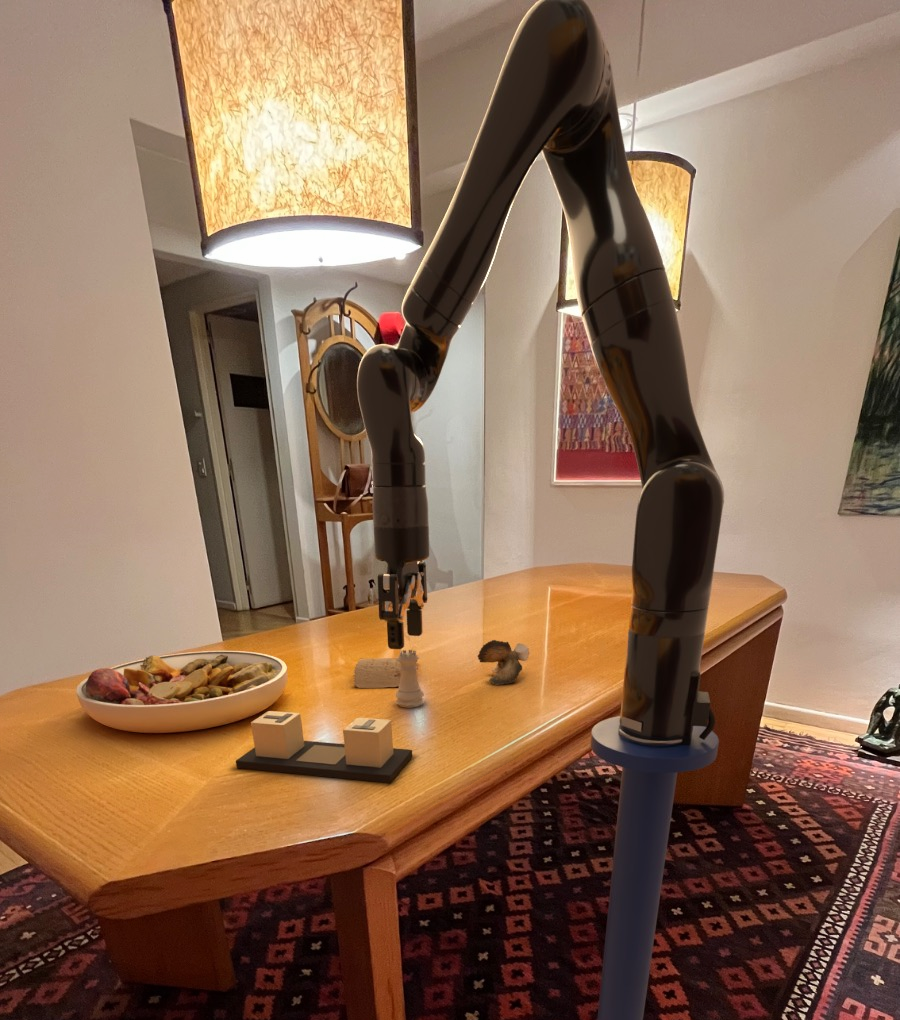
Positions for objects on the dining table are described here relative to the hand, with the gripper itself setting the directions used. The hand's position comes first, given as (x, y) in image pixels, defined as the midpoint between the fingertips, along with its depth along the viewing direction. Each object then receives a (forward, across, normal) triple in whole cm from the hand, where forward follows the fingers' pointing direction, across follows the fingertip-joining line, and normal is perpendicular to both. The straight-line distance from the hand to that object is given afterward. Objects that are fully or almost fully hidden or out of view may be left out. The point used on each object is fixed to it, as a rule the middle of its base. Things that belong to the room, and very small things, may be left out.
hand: (406, 641), depth 99 cm
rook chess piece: (+10, 0, 0) cm, 10 cm away
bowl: (+10, -8, +33) cm, 35 cm away
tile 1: (+9, -24, +9) cm, 27 cm away
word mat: (+10, -24, +3) cm, 26 cm away
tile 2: (+8, -24, -3) cm, 26 cm away
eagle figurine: (+10, +17, -11) cm, 23 cm away
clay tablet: (+10, +14, +9) cm, 19 cm away
